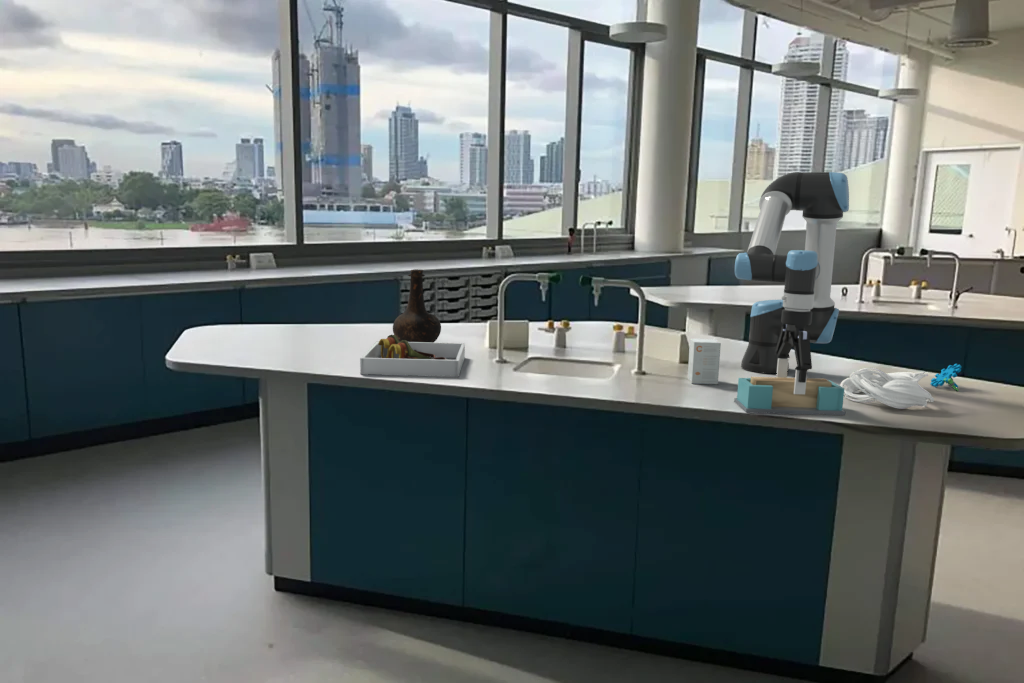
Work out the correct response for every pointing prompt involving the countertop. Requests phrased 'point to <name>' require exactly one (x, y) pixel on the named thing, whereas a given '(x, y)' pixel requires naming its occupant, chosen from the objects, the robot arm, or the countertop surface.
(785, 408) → the rail
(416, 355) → the multicoloured curved piece
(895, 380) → the coil
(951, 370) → the blue toy flower
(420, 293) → the glass bottle
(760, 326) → the robot arm
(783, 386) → the slat
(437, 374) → the tray
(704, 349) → the small box
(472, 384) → the countertop surface
